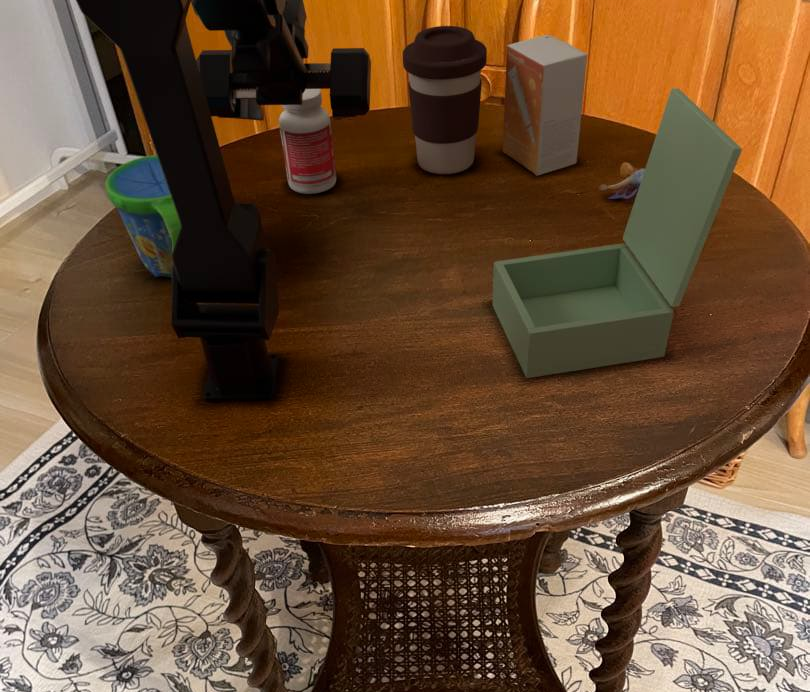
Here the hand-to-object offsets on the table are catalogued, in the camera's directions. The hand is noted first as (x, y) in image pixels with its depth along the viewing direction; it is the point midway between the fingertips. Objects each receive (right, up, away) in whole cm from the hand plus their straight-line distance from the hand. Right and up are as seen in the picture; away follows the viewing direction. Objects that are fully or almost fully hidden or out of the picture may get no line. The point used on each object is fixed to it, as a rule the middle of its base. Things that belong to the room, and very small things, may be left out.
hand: (300, 115), depth 101 cm
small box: (+29, -1, +10) cm, 31 cm away
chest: (+29, -29, -16) cm, 44 cm away
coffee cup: (+18, -1, +10) cm, 20 cm away
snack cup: (-13, -19, -3) cm, 23 cm away
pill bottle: (+1, -5, +8) cm, 9 cm away
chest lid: (+36, -19, -24) cm, 48 cm away
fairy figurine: (+42, -11, 0) cm, 43 cm away
